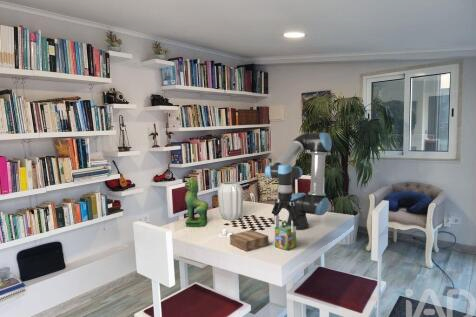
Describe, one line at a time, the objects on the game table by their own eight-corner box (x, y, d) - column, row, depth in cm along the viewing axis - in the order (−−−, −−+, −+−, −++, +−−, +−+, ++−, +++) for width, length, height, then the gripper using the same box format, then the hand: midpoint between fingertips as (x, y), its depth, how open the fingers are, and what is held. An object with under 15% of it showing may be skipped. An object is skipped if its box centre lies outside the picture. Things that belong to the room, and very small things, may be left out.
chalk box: (287, 250, 184) (287, 224, 183) (274, 247, 191) (273, 221, 189) (297, 246, 191) (296, 221, 190) (283, 243, 197) (283, 218, 196)
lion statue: (187, 222, 248) (186, 175, 246) (209, 222, 247) (208, 175, 244) (183, 227, 235) (181, 178, 232) (206, 227, 234) (205, 177, 231)
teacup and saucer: (234, 235, 215) (234, 229, 215) (225, 238, 209) (225, 232, 209) (224, 233, 221) (224, 227, 221) (216, 236, 215) (215, 229, 215)
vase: (234, 222, 244) (234, 185, 242) (213, 219, 254) (212, 184, 252) (248, 216, 260) (247, 182, 258) (227, 214, 270) (226, 180, 268)
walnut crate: (251, 239, 207) (251, 229, 207) (269, 246, 194) (268, 236, 193) (229, 244, 198) (229, 234, 197) (246, 252, 184) (246, 241, 184)
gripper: (265, 190, 196) (265, 225, 198) (296, 195, 176) (296, 235, 177) (275, 188, 201) (275, 223, 202) (306, 194, 180) (306, 232, 182)
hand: (285, 229), depth 190 cm, fingers open, 13 cm apart
